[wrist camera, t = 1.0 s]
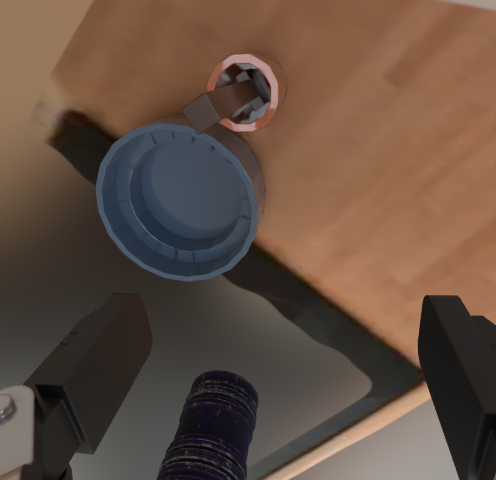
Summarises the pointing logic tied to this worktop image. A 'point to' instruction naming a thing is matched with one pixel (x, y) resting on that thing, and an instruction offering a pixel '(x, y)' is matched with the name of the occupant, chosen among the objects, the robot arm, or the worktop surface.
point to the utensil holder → (269, 79)
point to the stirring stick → (225, 101)
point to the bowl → (181, 198)
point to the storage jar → (213, 430)
